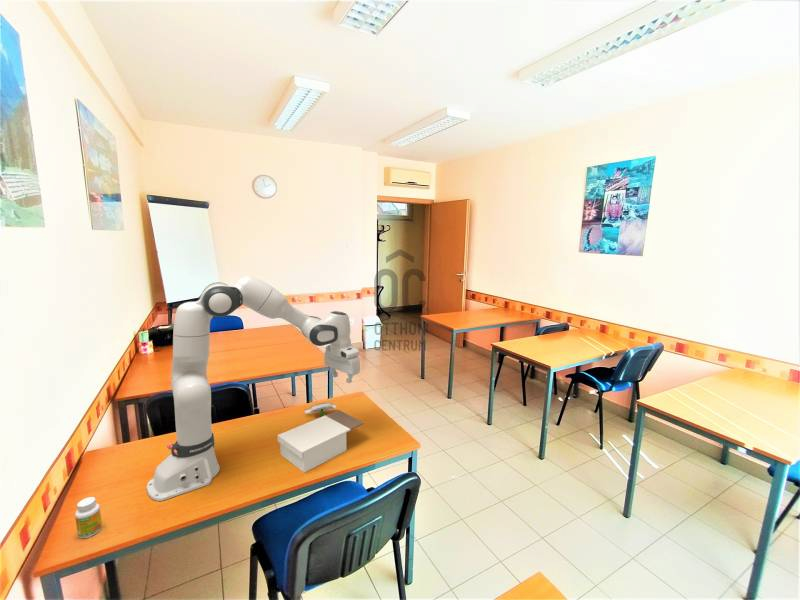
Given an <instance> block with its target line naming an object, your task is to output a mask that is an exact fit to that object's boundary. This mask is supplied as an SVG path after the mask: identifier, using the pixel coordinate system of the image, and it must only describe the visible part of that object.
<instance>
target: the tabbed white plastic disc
mask: <svg viewBox="0 0 800 600" xmlns="http://www.w3.org/2000/svg"><path fill="white" fill-rule="evenodd" d="M336 408H337V407H336V404H335V403H334V404H333V403H332V402H321V403H318V404H314V405H312V406H311V407H310V408H307V409H304V414H305V415H308V414H315V413H316V412H318V413H320V415H321V417H323V416H325V414H324V412H326V410H327V411H329V410H335V409H336ZM316 414H317V413H316Z"/></svg>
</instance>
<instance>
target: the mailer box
mask: <svg viewBox="0 0 800 600" xmlns="http://www.w3.org/2000/svg"><path fill="white" fill-rule="evenodd" d="M279 447H280V455H281V456H282V457H283V458H285V459H286V460H287V461H288V462H290V463H291V464H292V465H294V466H295V467H296V468H297V469H298V470H300V471H301V472H303V473H306V472H309V471H310V470H312V469H314V468H316V467H318V466H320V465H322V464H323V463H325V462H327V461H330V460H331V459H333V458H335V457H337V456H339V455H340V454H342V453H345V452H346V451H347V450H348V449H347V432H346V433H344V434H342V435H340V436H338V437H336V438H334V439H332V440H330V441H328V442H325V443H323V444H321V445H319V446H317V447H315V448H313V449H311V450H309V451H307V452H305V453H303V459H301V458H300V457H299V456H297V455H296V454H295V453H293V452H292V451H291V450H289V449H288V448H286V447H285V446H284V445H282V444H281V443H280V442H279Z"/></svg>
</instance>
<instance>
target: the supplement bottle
mask: <svg viewBox="0 0 800 600" xmlns="http://www.w3.org/2000/svg"><path fill="white" fill-rule="evenodd" d="M76 507H77V510H76V511H75V514H74V517H75V523H76V532H77V537H78V538H79V539H86V538H87V539H88V538H90V537H93V536H94V535H96V534H98V533H99V532H100V531H101V530H102V527H103V524H102V523H103V522H102V515H101V506H100V504H99V503H97V501H96V497H94V496H90V497H85V498H83V499H82V500H80V501H79V502H78V503H77V504H76Z"/></svg>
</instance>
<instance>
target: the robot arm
mask: <svg viewBox="0 0 800 600" xmlns="http://www.w3.org/2000/svg"><path fill="white" fill-rule="evenodd" d="M241 306H245V307H247V308H249V309H250V310H252V311H253V312H255V313H257V314H260V315H261V316H263V317H266V318H269V319H271V320H272V319H282V320H284V321H286V322H288V323H289V324H291V325H293V326H295V327H296V328H298V329H299V330H300V332H301V333H302V335H303V336H304V337H305V338H306V339H308V341H309V342H310V343H311V344H312V345H314V346H317V347H323V346H326V347H325V351H324V357H323V358H324V365H325V366H327V367H329V368H330V371H331V373H332V377H333V378H338V376H339V375H338V374H339V373H338V372H337V371H339V372H343V373H345V374H346V375H347V378H346V381H345V382H346V383H347V384H352V383H353V382H352V381H353V378H354V376H356V375H359V373H360V372H361V362H360V357H359V355H360V350H359V349H358V348H356V347H355V345H353V344H352V340H351V337H350V336H351V322H350V321H351V320H350V316H349V315H348V314H347V313H345V312H343V311H337V310H336V311H335V310H334V311H331V312H330V313H329V314H327V316H325V317H323V318H322V319H321V318H320V317H317V316H314V315H313V316H312V315H308V314H305V313H304V312H303V311H301V310H299V309H297V308H296V307H295V306H293V305H291V304H290V302H289V301H288V299H287V298H286V297H285V295H284V294H282V293H281V292H280V291H279V290H277V289H276V288H275V287H273V286H271V285H270V284H268V283H267V282H265V281H263V280H261V279H258V278H256V277H254V276H251V275H244V276H242V277H240V278H239V279H238V280H236V282H235V283H234V284H233V285H228V284H226V283H224V282H219V281H218V282H213V283H210V284H209V285H207V286H206V287H204V289H203V290H202V292H201V293H200V295H199V297H198V298H197V300H196V301H186V302H183V303H181V304H180V305H179V306H177V308H176V311H175V315H174V320H173V332H172V333H173V334H172V364H171V383H170V384H171V390H172V396H173V404H174V405H173V406H174V417H175V418H174V421H175V431H176V432H175V433H176V442H174V443H173V442H172V441H170V442H168V443H167V444H166V448H167V449H168V450H170V452H171V453H170V454H169V455H168V456H167V457H166V458H165V459H164V460H163V461H162V462H160V463H159V464H158V465H157V466H156V468H155V471H154V475H153V478H152V479H150V480H149V481H148V482H147V484H146V492H147V495H148V496H149V497H150V499H152V500H154V501H157V502H162V501H165V500H169V499H171V498H173V497H177V496H179V495H182V494H186V493H189V492H192V491H194V490H197V489H200V488H203V487H207V486H209V485H210V484H211V482H212V480H213V478H215V476H216V475H217V474H218V473H219V472H220V469H221V466H220V464H219V462H218V459H217V456H216V453H215V452H216V451H215V443H216V442H215V441H216V440H215V435H214V433H213V428H212V427H213V426H212V390H211V389H212V387H211V385H210V383H209V380H208V377H207V376H208V375H207V372H208V363H209V357H210V340H211V339H210V337H211V327H210V326H211V321H212V319H213V317H215V318H224V317H227V316H229V315H230V314H232V313H233V312H235V311H236V310H238V309H239V308H240V307H241Z"/></svg>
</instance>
